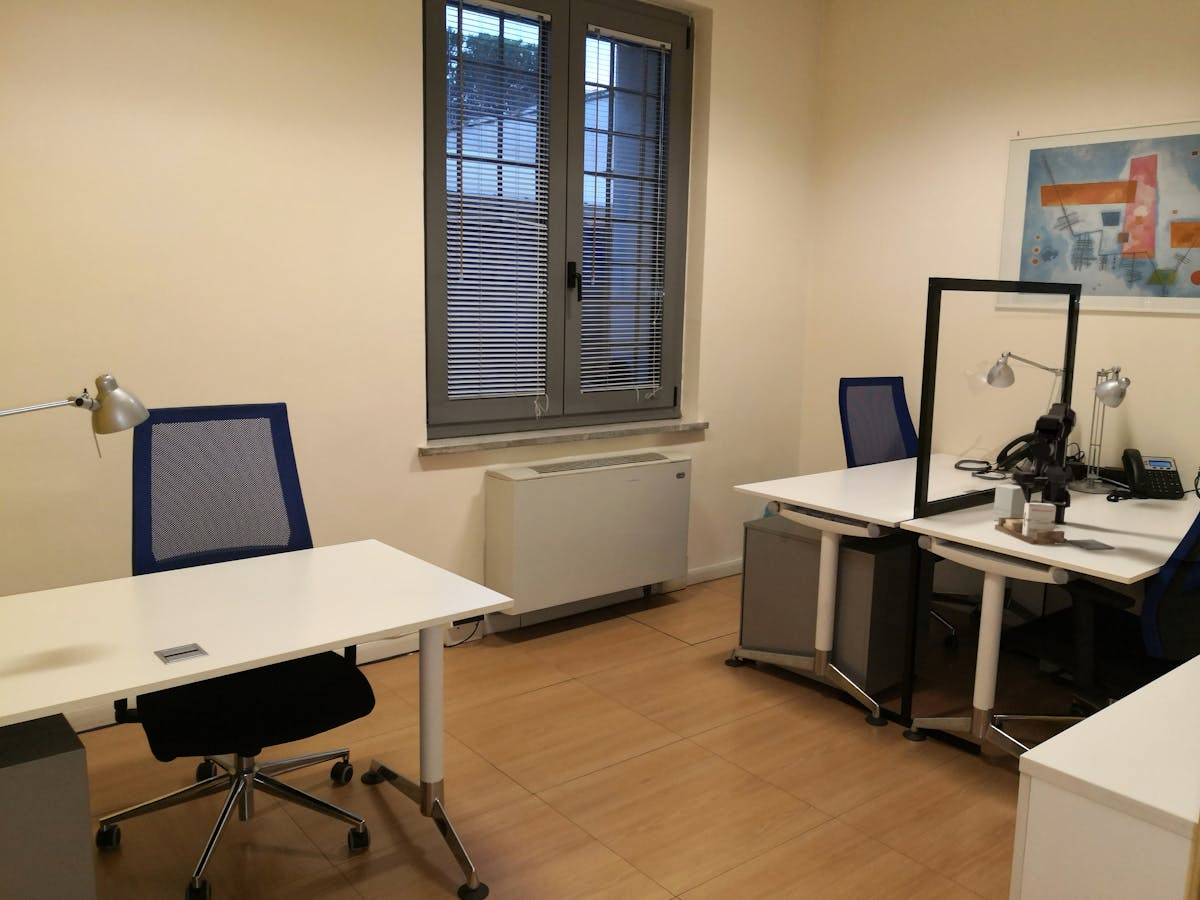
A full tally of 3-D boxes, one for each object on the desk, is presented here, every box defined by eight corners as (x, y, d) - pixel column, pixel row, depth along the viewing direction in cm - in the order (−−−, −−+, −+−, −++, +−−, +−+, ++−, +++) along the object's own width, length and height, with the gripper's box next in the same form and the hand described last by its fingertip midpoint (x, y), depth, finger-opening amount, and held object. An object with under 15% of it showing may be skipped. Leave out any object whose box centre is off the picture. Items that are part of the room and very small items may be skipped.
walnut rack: (1026, 528, 335) (1028, 516, 334) (1066, 543, 315) (1067, 531, 315) (994, 529, 332) (995, 517, 331) (1032, 544, 313) (1034, 532, 312)
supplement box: (1023, 522, 343) (1027, 487, 341) (1009, 524, 340) (1013, 488, 338) (1005, 518, 350) (1009, 483, 348) (991, 519, 346) (995, 484, 344)
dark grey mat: (1092, 540, 320) (1092, 539, 320) (1114, 549, 311) (1114, 547, 311) (1066, 541, 318) (1066, 540, 318) (1087, 549, 309) (1087, 548, 309)
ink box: (1047, 537, 322) (1051, 502, 320) (1053, 541, 317) (1057, 506, 315) (1020, 536, 323) (1024, 501, 321) (1025, 540, 318) (1029, 504, 316)
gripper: (1036, 460, 306) (1031, 509, 309) (1088, 460, 310) (1082, 508, 313) (1014, 454, 317) (1009, 501, 319) (1064, 453, 321) (1059, 500, 323)
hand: (1040, 502), depth 318 cm, fingers open, 9 cm apart
